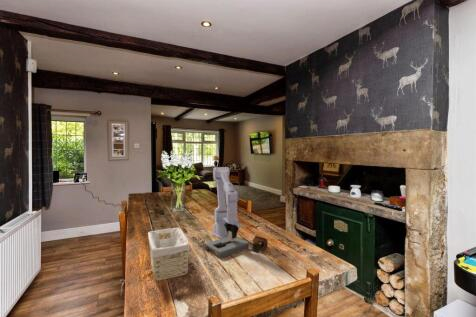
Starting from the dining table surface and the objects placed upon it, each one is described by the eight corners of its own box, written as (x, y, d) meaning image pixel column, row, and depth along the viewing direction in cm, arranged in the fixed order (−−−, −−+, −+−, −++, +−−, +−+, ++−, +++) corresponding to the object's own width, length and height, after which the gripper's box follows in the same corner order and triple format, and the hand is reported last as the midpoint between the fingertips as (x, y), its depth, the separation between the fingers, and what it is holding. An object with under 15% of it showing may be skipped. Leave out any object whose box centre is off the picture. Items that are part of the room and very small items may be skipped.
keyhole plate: (219, 259, 121) (219, 252, 121) (204, 249, 132) (204, 243, 131) (248, 248, 134) (248, 242, 133) (233, 240, 144) (233, 235, 144)
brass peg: (227, 245, 135) (227, 230, 135) (233, 243, 138) (233, 228, 138) (231, 248, 132) (231, 232, 132) (238, 246, 135) (238, 231, 134)
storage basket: (190, 275, 105) (190, 243, 104) (152, 284, 98) (151, 249, 98) (180, 253, 127) (179, 226, 126) (147, 259, 120) (147, 231, 119)
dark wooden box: (246, 249, 134) (250, 234, 137) (260, 253, 137) (263, 239, 141) (258, 251, 124) (262, 236, 127) (272, 256, 127) (276, 241, 130)
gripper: (245, 214, 131) (245, 238, 132) (229, 209, 142) (229, 231, 143) (235, 217, 126) (235, 242, 127) (220, 211, 137) (220, 234, 138)
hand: (231, 236), depth 135 cm, fingers closed on brass peg, 3 cm apart
